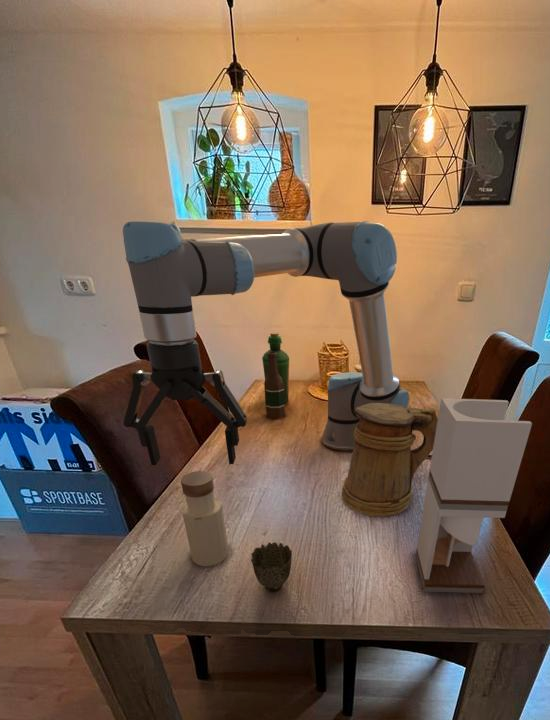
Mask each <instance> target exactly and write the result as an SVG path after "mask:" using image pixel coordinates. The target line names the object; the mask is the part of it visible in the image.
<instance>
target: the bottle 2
mask: <svg viewBox="0 0 550 720" xmlns="http://www.w3.org/2000/svg"><path fill="white" fill-rule="evenodd" d="M267 344H268V345H269V349H268V350H267V351H265V353H263V355H262V358H261V359H262V367H263V375H264V379H265V378H266V377H267V375H268V356H267V354H268V352H276V353H277V366H278V373H279V375H280V377H281V378H282V381H283V385H284V400H285V405H287V404H288V403H289V393H290V391H289V390H290V387H289V386H290V356H289V355H288V353H287V352H285V351H284V350H283V349H281V344H283V341H282V336H281V335H280V333H279V332H270V335H269V336H268V339H267Z"/></svg>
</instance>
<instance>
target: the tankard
mask: <svg viewBox="0 0 550 720" xmlns="http://www.w3.org/2000/svg"><path fill="white" fill-rule="evenodd" d="M354 413H356V414H357V415H359V416H360V421H359V423H358V424H357V425H356V428H355V432H354V439H355V444H354V449H353V451H352V453H351V459H350V463H349V467H348V472H347V476H346V477H345V479H344V480H343V485H342V488H341V493H340V496H341V499H342V501H343V503H344V504H345V505H346V506H347V507H348V508H350V510H353V511H354V512H356V513H360V514H362V515H365V516H371V517H388V516H394V515H399V514H401V513H402V512H405V511H406V510H407V509H408V508H409V507H410V506H411V503H412V499H413V497H414V492H413V490H414V489H413V485H412V483H413V479H414V476H415V474H416V472H417V470H418V469H419V467H420V466H421V465H422V463H423V462H424V461H425V460H427V458H429V457H428V455H431V454H432V452H433V446H434V440H435V434H436V427H437V421H438V416H437V414H436V413H437V410H436V409H435V408H433V407H429V408H419V407H418V408H416V407H409V406H408V407H405V406H401V405H395V404H387V403H369V404H366V405H363V406H360V407H357V408H356V409H355V410H354ZM413 431H416V432H417V431H418V432H420V433H421V434H422V435H423V438H422V439H423V441H422V443H421V445H420V446H418V447H417V448H413V449H411V448H412V446H413V445H414V442H415V441H416V440H417V436H416V435H415V434H414V433H413Z"/></svg>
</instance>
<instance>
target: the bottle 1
mask: <svg viewBox="0 0 550 720" xmlns="http://www.w3.org/2000/svg"><path fill="white" fill-rule="evenodd" d="M184 496H185V501H186V503H185V504H183V506H182V508H181V513H182V517H183V522H184V527H185V532H186V536H187V541H188V546H189V550H190V555H191V559H192V561H193V563H194V564H196V565H198V566H200V567H211V566H215V565H218V564H220V563H222V562H223V561H224V560H226V559H227V558H228V555H229V544H228V538H227V531H226V524H225V517H224V511H223V504H222V502H221V500H219V499H217V498H216V497H215V494H214V490H213V491H212V492H211V493H210V494H208V495H206V496H202V497H188V496H186V495H184Z"/></svg>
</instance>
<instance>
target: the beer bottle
mask: <svg viewBox="0 0 550 720" xmlns="http://www.w3.org/2000/svg"><path fill="white" fill-rule="evenodd" d="M267 356H268V375H267V377H266V378H265V377H264V383H263V385H264V386H263V387H264V401H265V402H264V403H265V413H266V417H267V418H269V419H271V420H272V419H273V420H278V419H279V420H280V419H282V418H284V417H286V404H285V400H284V385H283V381H282V378H281V377H280V375H279V373H278V366H277V353H276V352H268V354H267Z"/></svg>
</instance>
